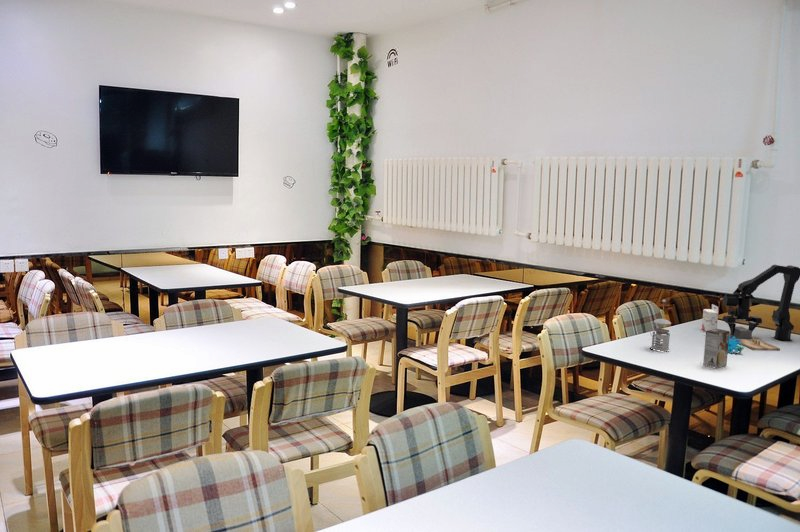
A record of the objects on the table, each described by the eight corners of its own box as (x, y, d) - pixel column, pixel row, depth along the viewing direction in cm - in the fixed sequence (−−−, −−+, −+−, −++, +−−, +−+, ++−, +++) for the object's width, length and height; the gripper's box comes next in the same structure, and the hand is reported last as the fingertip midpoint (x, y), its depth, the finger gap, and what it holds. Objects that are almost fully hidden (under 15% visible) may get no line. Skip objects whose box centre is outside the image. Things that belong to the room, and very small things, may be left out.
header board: (758, 341, 343) (759, 334, 343) (779, 350, 325) (780, 343, 325) (732, 340, 342) (733, 334, 342) (752, 350, 325) (753, 343, 324)
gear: (715, 347, 320) (723, 332, 323) (716, 354, 324) (725, 338, 327) (738, 355, 313) (747, 339, 316) (739, 362, 316) (748, 346, 320)
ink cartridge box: (700, 329, 367) (703, 303, 365) (709, 329, 367) (712, 303, 365) (707, 332, 359) (710, 306, 357) (716, 333, 359) (719, 306, 357)
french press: (659, 352, 314) (663, 301, 311) (642, 346, 325) (646, 297, 322) (675, 351, 318) (679, 300, 315) (657, 345, 329) (661, 296, 325)
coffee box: (713, 362, 301) (716, 328, 299) (726, 365, 296) (730, 331, 293) (702, 365, 295) (705, 330, 293) (716, 368, 290) (719, 333, 288)
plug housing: (740, 335, 355) (741, 326, 354) (751, 340, 345) (752, 331, 344) (729, 335, 355) (730, 326, 354) (740, 340, 345) (741, 330, 344)
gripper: (752, 304, 356) (749, 332, 358) (718, 303, 355) (715, 331, 357) (764, 308, 345) (761, 337, 347) (729, 307, 344) (726, 336, 346)
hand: (740, 335), depth 350 cm, fingers open, 9 cm apart
